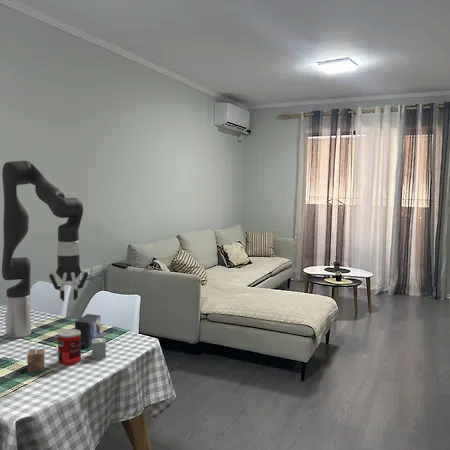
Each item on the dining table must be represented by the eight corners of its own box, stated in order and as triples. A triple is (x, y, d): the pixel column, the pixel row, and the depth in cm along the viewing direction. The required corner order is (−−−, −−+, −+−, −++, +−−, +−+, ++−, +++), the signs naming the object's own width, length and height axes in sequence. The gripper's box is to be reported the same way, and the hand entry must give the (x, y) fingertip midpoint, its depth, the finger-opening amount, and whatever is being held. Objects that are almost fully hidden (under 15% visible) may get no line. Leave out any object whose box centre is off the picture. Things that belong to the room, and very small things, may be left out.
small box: (88, 347, 179) (88, 322, 178) (74, 346, 180) (73, 321, 179) (101, 338, 189) (101, 314, 188) (87, 337, 191) (87, 313, 190)
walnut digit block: (27, 371, 156) (27, 354, 155) (29, 366, 161) (29, 349, 160) (43, 370, 157) (42, 353, 157) (44, 364, 162) (44, 348, 161)
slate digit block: (92, 358, 168) (91, 343, 168) (92, 353, 173) (92, 338, 172) (105, 357, 170) (105, 341, 169) (105, 352, 174) (105, 337, 174)
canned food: (61, 357, 169) (61, 328, 168) (83, 357, 170) (82, 328, 169) (55, 365, 161) (55, 335, 160) (78, 365, 162) (78, 335, 161)
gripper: (47, 255, 156) (48, 304, 157) (89, 254, 161) (90, 301, 162) (47, 252, 162) (48, 298, 164) (88, 250, 168) (88, 296, 169)
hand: (69, 299), depth 163 cm, fingers open, 3 cm apart
